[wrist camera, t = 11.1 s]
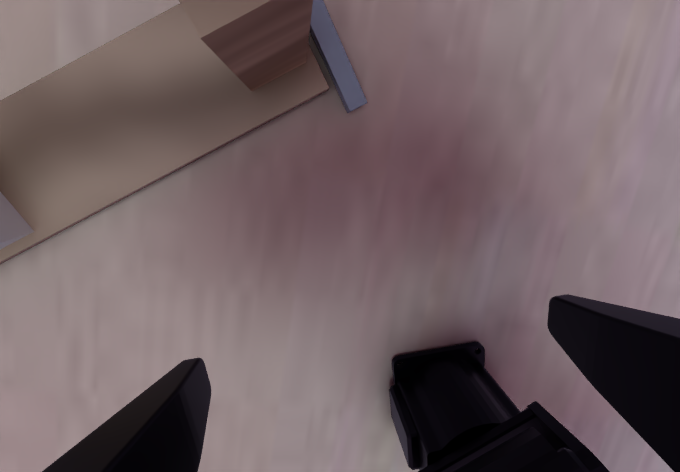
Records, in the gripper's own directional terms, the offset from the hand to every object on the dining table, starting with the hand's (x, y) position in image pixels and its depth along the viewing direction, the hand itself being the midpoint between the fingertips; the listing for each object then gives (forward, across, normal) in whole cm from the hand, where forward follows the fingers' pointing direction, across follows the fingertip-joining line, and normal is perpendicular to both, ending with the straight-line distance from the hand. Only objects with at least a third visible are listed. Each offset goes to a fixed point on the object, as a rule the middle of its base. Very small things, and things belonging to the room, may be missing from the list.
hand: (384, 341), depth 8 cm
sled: (+12, +11, -6) cm, 17 cm away
